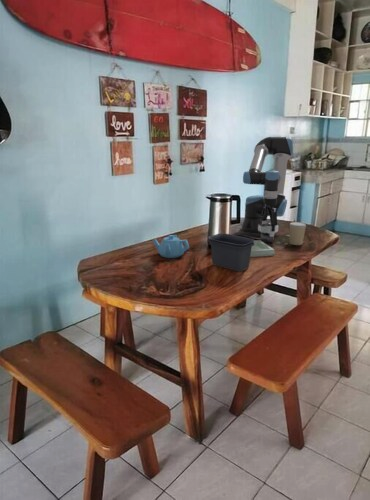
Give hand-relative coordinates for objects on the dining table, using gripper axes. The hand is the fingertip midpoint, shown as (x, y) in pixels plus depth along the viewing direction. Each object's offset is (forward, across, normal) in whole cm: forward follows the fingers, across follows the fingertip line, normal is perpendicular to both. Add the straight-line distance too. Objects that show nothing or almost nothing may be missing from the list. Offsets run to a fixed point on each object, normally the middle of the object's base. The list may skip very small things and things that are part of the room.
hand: (267, 233), depth 223 cm
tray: (+5, +16, -17) cm, 24 cm away
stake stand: (+5, 0, 0) cm, 5 cm away
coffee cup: (+5, +6, +16) cm, 18 cm away
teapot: (+5, +14, -62) cm, 64 cm away
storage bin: (+5, +37, -36) cm, 52 cm away
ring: (-2, 0, 0) cm, 2 cm away
